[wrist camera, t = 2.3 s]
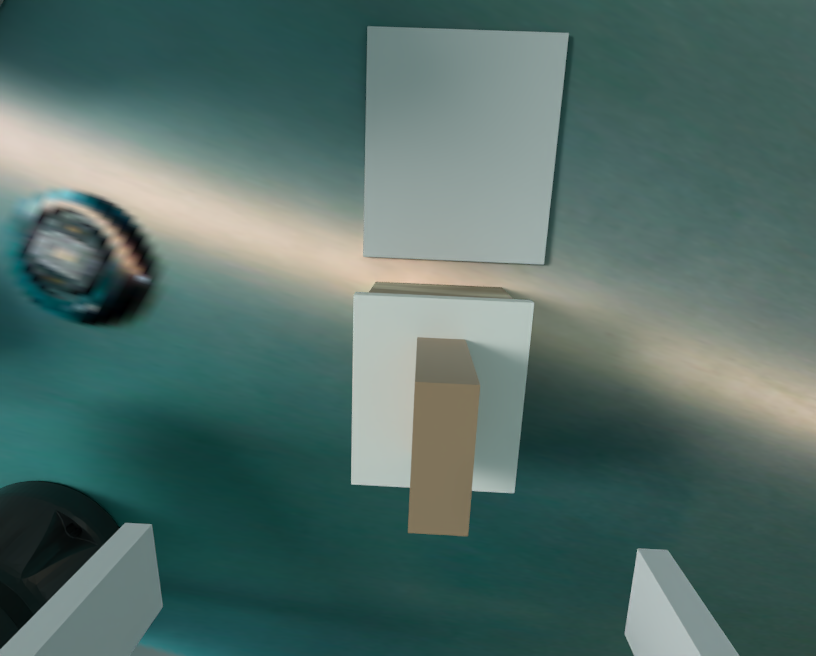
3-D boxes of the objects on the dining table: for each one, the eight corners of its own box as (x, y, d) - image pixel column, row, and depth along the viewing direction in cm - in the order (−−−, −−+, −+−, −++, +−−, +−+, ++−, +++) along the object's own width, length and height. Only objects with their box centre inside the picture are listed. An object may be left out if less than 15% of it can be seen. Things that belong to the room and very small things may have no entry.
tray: (542, 263, 37) (543, 264, 37) (363, 256, 38) (363, 256, 37) (567, 35, 34) (568, 32, 33) (367, 28, 34) (367, 26, 33)
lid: (508, 473, 35) (543, 583, 24) (356, 465, 35) (328, 570, 25) (525, 295, 31) (574, 336, 21) (359, 288, 32) (328, 324, 21)
